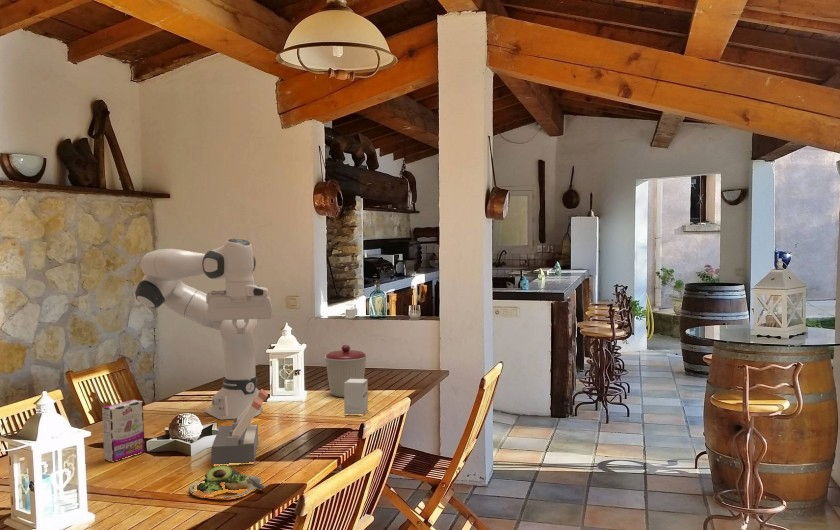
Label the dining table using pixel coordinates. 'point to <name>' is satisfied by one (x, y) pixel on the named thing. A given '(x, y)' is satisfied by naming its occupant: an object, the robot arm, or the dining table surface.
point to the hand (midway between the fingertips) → (240, 333)
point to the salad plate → (227, 481)
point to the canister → (344, 368)
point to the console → (235, 445)
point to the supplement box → (355, 396)
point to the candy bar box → (123, 429)
